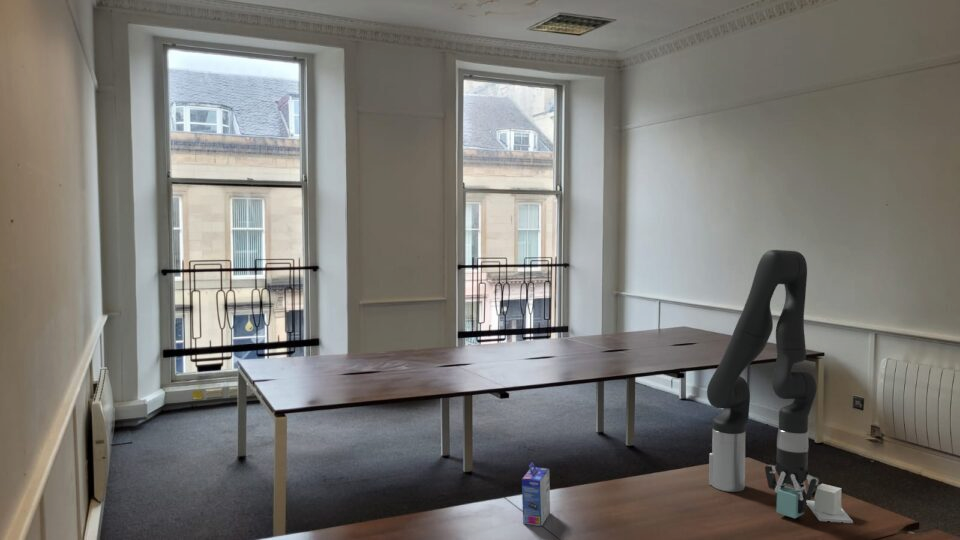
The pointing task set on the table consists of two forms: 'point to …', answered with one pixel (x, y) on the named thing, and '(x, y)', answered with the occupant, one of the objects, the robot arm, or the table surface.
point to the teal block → (788, 502)
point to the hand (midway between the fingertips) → (790, 509)
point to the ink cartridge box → (536, 495)
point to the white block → (828, 499)
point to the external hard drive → (823, 516)
